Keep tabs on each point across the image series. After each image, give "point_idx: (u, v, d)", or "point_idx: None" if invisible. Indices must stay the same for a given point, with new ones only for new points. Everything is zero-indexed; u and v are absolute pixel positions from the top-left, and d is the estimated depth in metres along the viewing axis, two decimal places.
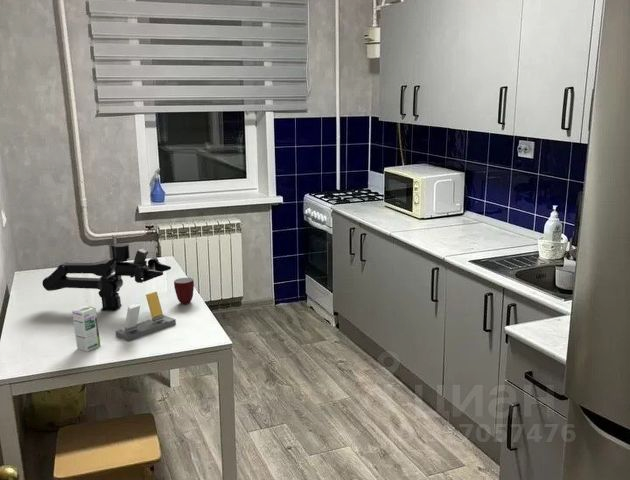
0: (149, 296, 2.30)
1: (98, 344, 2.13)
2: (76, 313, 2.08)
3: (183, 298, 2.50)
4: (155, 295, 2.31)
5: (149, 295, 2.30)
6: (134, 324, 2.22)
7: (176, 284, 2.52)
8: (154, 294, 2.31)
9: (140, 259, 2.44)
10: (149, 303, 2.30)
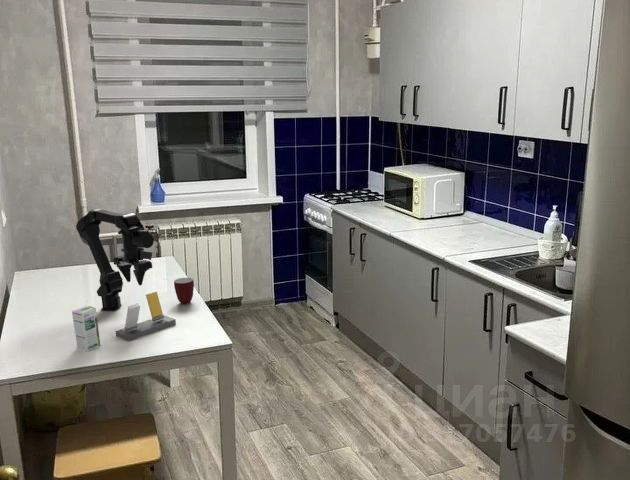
0: (149, 296, 2.30)
1: (98, 344, 2.13)
2: (76, 313, 2.08)
3: (183, 298, 2.50)
4: (155, 295, 2.31)
5: (149, 295, 2.30)
6: (134, 324, 2.22)
7: (176, 284, 2.52)
8: (154, 294, 2.31)
9: (146, 257, 2.42)
10: (149, 303, 2.30)
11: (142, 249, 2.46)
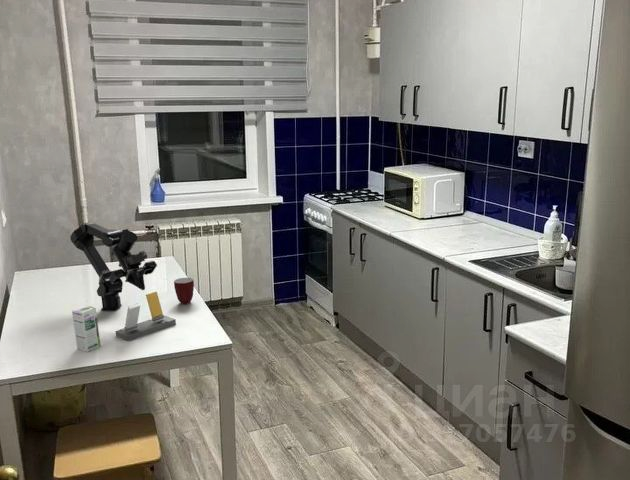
0: (149, 296, 2.30)
1: (98, 344, 2.13)
2: (76, 313, 2.08)
3: (183, 298, 2.50)
4: (155, 295, 2.31)
5: (149, 295, 2.30)
6: (134, 324, 2.22)
7: (176, 284, 2.52)
8: (154, 294, 2.31)
9: (130, 263, 2.32)
10: (149, 303, 2.30)
11: (140, 253, 2.35)
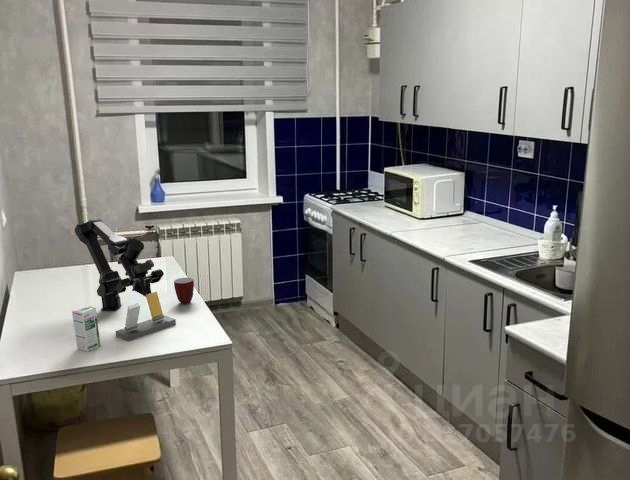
0: (149, 296, 2.30)
1: (98, 344, 2.13)
2: (76, 313, 2.08)
3: (183, 298, 2.50)
4: (155, 295, 2.31)
5: (149, 295, 2.30)
6: (134, 324, 2.22)
7: (176, 284, 2.52)
8: (154, 294, 2.31)
9: (137, 272, 2.30)
10: (149, 303, 2.30)
11: (147, 261, 2.33)
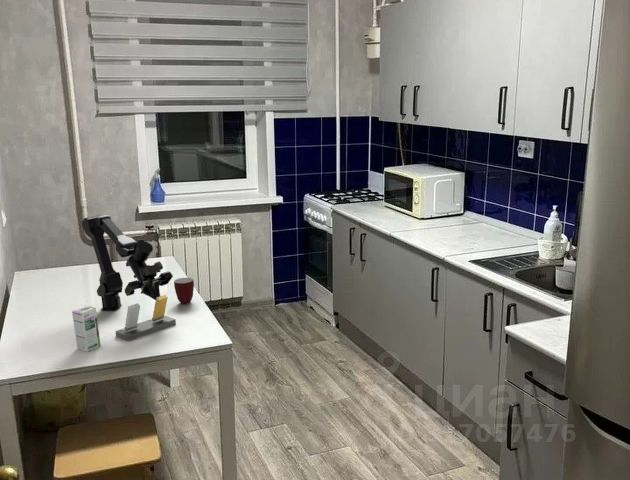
0: (159, 301, 2.26)
1: (98, 344, 2.13)
2: (76, 313, 2.08)
3: (183, 298, 2.50)
4: (165, 300, 2.28)
5: (159, 300, 2.26)
6: (134, 324, 2.22)
7: (176, 284, 2.52)
8: (164, 299, 2.27)
9: (146, 274, 2.27)
10: (156, 306, 2.27)
11: (156, 263, 2.30)
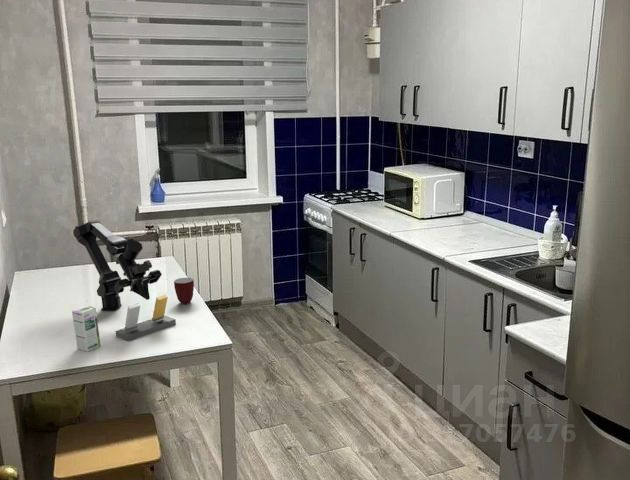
0: (159, 301, 2.26)
1: (98, 344, 2.13)
2: (76, 313, 2.08)
3: (183, 298, 2.50)
4: (165, 300, 2.28)
5: (159, 300, 2.26)
6: (134, 324, 2.22)
7: (176, 284, 2.52)
8: (164, 299, 2.27)
9: (135, 272, 2.31)
10: (156, 306, 2.27)
11: None
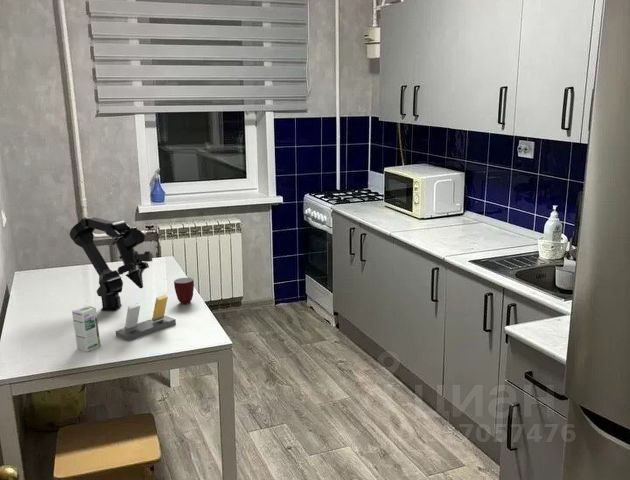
0: (159, 301, 2.26)
1: (98, 344, 2.13)
2: (76, 313, 2.08)
3: (183, 298, 2.50)
4: (165, 300, 2.28)
5: (159, 300, 2.26)
6: (134, 324, 2.22)
7: (176, 284, 2.52)
8: (164, 299, 2.27)
9: (141, 260, 2.36)
10: (156, 306, 2.27)
11: (148, 252, 2.41)
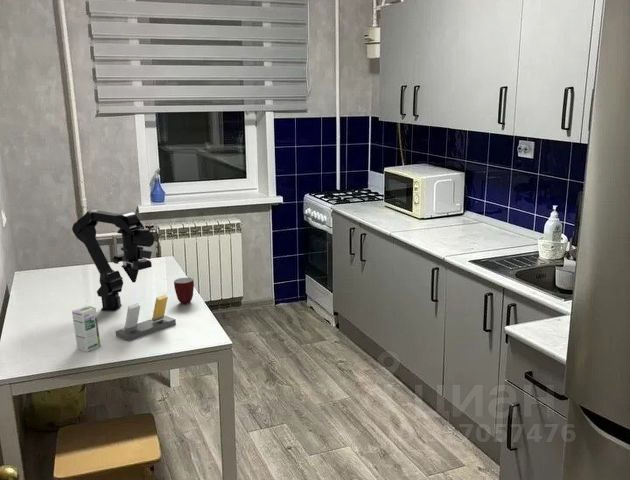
0: (159, 301, 2.26)
1: (98, 344, 2.13)
2: (76, 313, 2.08)
3: (183, 298, 2.50)
4: (165, 300, 2.28)
5: (159, 300, 2.26)
6: (134, 324, 2.22)
7: (176, 284, 2.52)
8: (164, 299, 2.27)
9: (145, 256, 2.44)
10: (156, 306, 2.27)
11: (142, 248, 2.48)
